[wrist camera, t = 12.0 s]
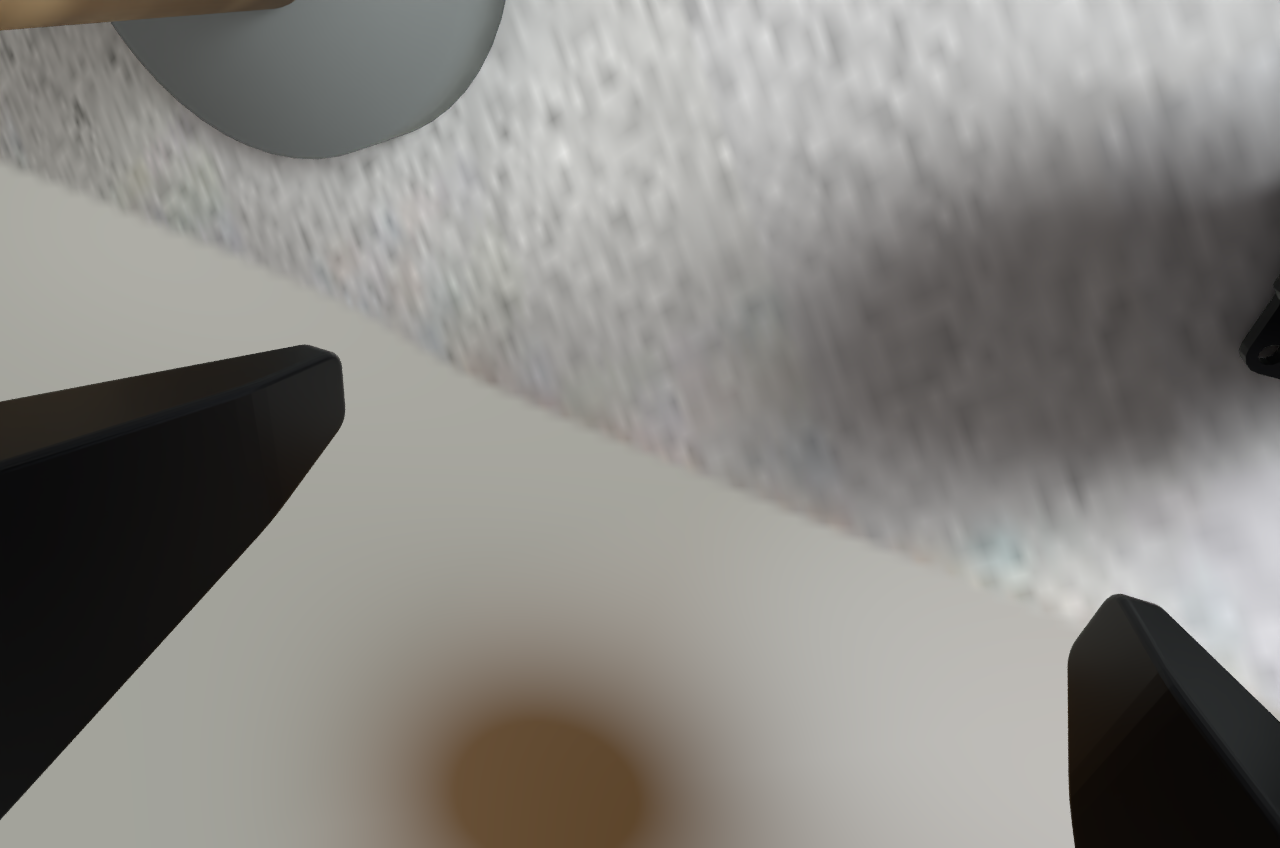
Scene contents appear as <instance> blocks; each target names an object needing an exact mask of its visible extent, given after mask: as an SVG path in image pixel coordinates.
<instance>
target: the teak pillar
mask: <svg viewBox="0 0 1280 848" xmlns="http://www.w3.org/2000/svg"><path fill="white" fill-rule="evenodd" d="M293 1H295V0H0V30H12V29H24V28H37V27H50V26H62V25H75V24H88V23H100V22H113V21H126V20H138V19H151V18H164V17H176V16H189V15H202V14H214V13H227V12H240V11H252V10H265V9H275V8H280V7H284V6H286V5H288V4H290V3H292V2H293Z"/></svg>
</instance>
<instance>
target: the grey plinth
mask: <svg viewBox="0 0 1280 848" xmlns="http://www.w3.org/2000/svg"><path fill="white" fill-rule="evenodd" d="M504 5H505V0H295V1H293V2H292V3H290V4H288V5H286V6H284V7H280V8H275V9H265V10H252V11H240V12H227V13H214V14H202V15H189V16H176V17H164V18H151V19H138V20H126V21H113V22H111V23H112V24H113V26H114V28H115V29H116V31H117V32H118V34H119V35H120V36H121V38H122V39H123V40H124V42H125V43H126V44H127V46H128V47H129V48H130V50H131V51H132V52H133V54H134V55H135V56H136V58H137V59H138V60H139V61H140V62H141V63H142V64H143V66H144V67H145V68H146V69H147V70H148V71H149V72H150V73H151V75H152V76H153V77H154V78H155V79H156V80H157V81H158V82H159V83H160V84H161V85H162V86H163V87H164V88H165V89H166V90H167V91H168V92H169V93H170V94H171V95H172V96H173V97H174V98H176V99H177V100H178V101H179V102H180V103H181V104H182V105H184V106H185V107H186V108H187V109H189V110H190V111H191V112H193V113H194V114H195V115H196V116H198V117H199V118H200V119H201V120H203V121H204V122H206V123H208V124H209V125H211V126H212V127H214V128H215V129H217V130H219V131H220V132H222V133H223V134H225V135H227V136H229V137H231V138H233V139H235V140H237V141H239V142H241V143H243V144H245V145H248V146H250V147H253V148H256V149H259V150H262V151H265V152H268V153H271V154H275V155H280V156H286V157H291V158H302V159H322V158H329V157H337V156H342V155H345V154H348V153H351V152H354V151H358V150H361V149H364V148H367V147H369V146H372V145H375V144H378V143H381V142H384V141H387V140H390V139H393V138H396V137H398V136H401V135H404V134H407V133H410V132H413V131H415V130H417V129H419V128H421V127H423V126H424V125H426V124H428V123H430V122H432V121H433V120H435V119H436V118H437V117H439V116H440V115H441V114H442V113H444V112H445V111H446V110H448V109H449V108H450V107H451V106H452V105H453V104H454V103H455V102H456V101H457V100H458V99H459V98H460V96H461V95H462V94H463V93H464V92H465V91H466V90H467V88H468V87H469V85H470V84H471V83H472V81H473V80H474V78H475V77H476V75H477V74H478V72H479V71H480V69H481V67H482V65H483V63H484V61H485V59H486V57H487V55H488V53H489V51H490V49H491V47H492V45H493V42H494V39H495V36H496V33H497V30H498V27H499V24H500V21H501V18H502V14H503V9H504Z"/></svg>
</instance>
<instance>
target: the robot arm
mask: <svg viewBox="0 0 1280 848" xmlns="http://www.w3.org/2000/svg"><path fill="white" fill-rule="evenodd" d="M1274 289H1275V292H1276V294H1275V296H1274V297H1273V298H1272V300H1271V301H1270V303H1269V304H1268V306H1267V307H1266V309H1265V310H1264V312H1263V313H1262V314H1261V316H1260V317H1259V319H1258V320H1257V322H1256V323H1255V325H1254V326H1253V327H1252V329H1251V330H1250V332H1249V333H1248V335H1247V336H1246V338H1245V339H1244V341H1243V342H1242V344H1241V347H1240V349H1239V353H1240V358H1241V359H1242V360H1243V361H1244V363H1245V364H1246V365H1247V366H1248V367H1249V368H1250V370H1252V371H1254V372H1256V373H1258V374H1262V375H1266V376H1270V377H1274V378H1278V379H1280V275H1279V277H1278V278H1277V279H1276V281H1275V283H1274ZM1271 345H1279V347H1278V349H1277V351H1276V352H1275V353H1274V354H1273V355H1271V356H1268V357H1266V358H1259V357H1258V356H1259V353H1260V352H1261V351H1262V350H1263V349H1264V348H1265V347H1268V346H1271ZM344 415H345V399H344V388H343V374H342V365H341V361H340V359H339V357H338V356H337V355H336V354H335V353H333V352H330V351H327V350H323V349H320V348H317V347H314V346H310V345H298V346H293V347H288V348H283V349H277V350H271V351H266V352H262V353H256V354H250V355H245V356H240V357H235V358H229V359H224V360H219V361H214V362H208V363H203V364H197V365H192V366H187V367H181V368H176V369H171V370H166V371H160V372H156V373H150V374H144V375H139V376H134V377H128V378H123V379H118V380H113V381H107V382H102V383H97V384H91V385H86V386H81V387H76V388H70V389H65V390H60V391H55V392H49V393H44V394H38V395H33V396H28V397H23V398H18V399H12V400H7V401H2V402H0V820H1V818H2V817H3V816H4V815H5V814H6V813H7V812H8V811H9V810H10V808H12V806H13V805H14V804H15V803H16V802H17V801H18V800H19V799H20V798H21V797H22V795H23V794H24V793H25V792H26V791H27V790H28V789H29V788H30V787H31V785H32V784H33V783H34V782H35V781H36V780H37V779H38V778H39V776H41V774H42V773H43V772H44V771H45V770H46V769H47V768H48V767H49V766H50V765H51V764H52V762H53V761H54V760H55V759H56V758H57V757H58V756H59V755H60V754H61V752H62V751H63V750H64V749H65V748H66V747H67V746H68V745H69V744H70V743H71V742H72V740H73V739H74V738H75V737H76V736H77V735H78V734H79V733H80V732H81V731H82V729H83V728H84V727H85V726H86V725H87V724H88V723H89V722H90V721H91V720H92V718H93V717H94V716H95V715H96V714H97V713H98V712H99V711H100V710H101V709H102V707H103V706H104V705H105V704H106V703H107V702H108V701H109V700H110V699H111V698H112V696H113V695H114V694H115V693H116V692H117V691H118V690H119V689H120V687H122V686H123V684H124V683H125V682H126V681H127V680H128V679H129V678H130V677H131V676H132V674H133V673H134V672H135V671H136V670H137V669H138V668H139V667H140V666H141V665H142V664H143V662H144V661H145V660H146V659H147V658H148V657H149V656H150V655H151V654H152V652H153V651H154V650H155V649H156V648H157V647H158V646H159V645H160V644H161V642H162V641H163V640H164V639H165V638H166V637H167V636H168V635H169V634H170V633H171V632H172V631H173V629H174V628H175V627H176V626H177V625H178V624H179V623H180V622H181V620H183V618H184V617H185V616H186V615H187V614H188V613H189V612H190V611H191V610H192V609H193V607H194V606H195V605H196V604H197V603H198V602H199V601H200V600H201V599H202V598H203V596H204V595H205V594H206V593H207V592H208V591H209V590H210V589H211V588H212V587H213V585H214V584H215V583H216V582H217V581H218V580H219V579H220V578H221V577H222V576H223V574H224V573H225V572H226V571H227V570H228V569H229V568H230V567H231V566H232V564H233V563H234V562H235V561H236V560H237V559H238V558H239V557H240V556H241V555H242V554H243V553H244V551H245V550H246V549H247V548H248V547H249V546H250V545H251V544H252V542H253V541H254V540H255V539H256V538H257V537H258V536H259V535H260V534H261V532H262V531H263V530H264V529H265V528H266V527H267V526H268V524H269V523H270V522H271V521H272V519H273V518H274V517H275V516H276V515H277V513H278V512H279V511H280V509H281V508H282V507H283V506H284V504H285V503H286V502H287V500H288V499H289V498H290V496H291V495H292V493H293V492H294V491H295V489H296V488H297V487H298V485H299V484H300V482H301V481H302V480H303V478H304V477H305V475H306V474H307V473H308V472H309V470H310V469H311V467H312V466H313V465H314V463H315V462H316V460H317V459H318V458H319V456H320V455H321V454H322V452H323V451H324V450H325V448H326V447H327V446H328V444H329V443H330V441H331V440H332V439H333V437H334V436H335V434H336V433H337V432H338V430H339V429H340V427H341V425H342V423H343V420H344ZM1068 763H1069V764H1068V767H1069V768H1068V773H1069V774H1068V775H1069V798H1070V799H1069V800H1070V809H1071V819H1072V827H1073V835H1074V843H1075V848H1280V722H1279V721H1278V720H1277V719H1276V718H1275V717H1274V716H1273V715H1272V714H1271V713H1270V712H1269V711H1268V710H1267V709H1266V708H1265V707H1264V706H1263V705H1262V704H1261V703H1260V702H1259V701H1258V700H1257V699H1255V698H1254V697H1253V696H1252V695H1251V694H1250V693H1249V692H1248V691H1247V690H1246V689H1245V688H1244V687H1243V686H1242V685H1241V684H1240V683H1239V682H1238V681H1237V680H1236V679H1235V678H1234V677H1233V676H1232V675H1231V674H1230V673H1229V672H1228V671H1227V670H1226V669H1224V668H1223V667H1222V666H1221V665H1220V664H1219V663H1218V662H1217V661H1216V660H1215V659H1214V658H1213V657H1212V656H1211V655H1210V654H1209V653H1208V652H1207V651H1206V650H1205V649H1204V648H1203V647H1202V646H1201V645H1200V644H1199V643H1198V642H1197V641H1196V640H1195V639H1194V638H1192V637H1191V636H1190V635H1189V634H1188V633H1187V632H1186V631H1185V630H1184V629H1183V628H1182V627H1181V626H1180V625H1179V624H1178V623H1177V622H1176V621H1175V620H1174V619H1173V618H1172V617H1171V616H1170V615H1169V614H1168V613H1167V612H1166V611H1165V610H1163V609H1162V608H1161V607H1160V606H1158V605H1156V604H1153V603H1150V602H1147V601H1143V600H1140V599H1137V598H1134V597H1130V596H1127V595H1124V594H1115V595H1112V596H1110V597H1109V598H1107V599H1106V600H1105V601H1104V603H1103V604H1102V605H1101V607H1100V608H1099V609H1098V611H1097V612H1096V613H1095V615H1094V616H1093V617H1092V619H1091V620H1090V622H1089V623H1088V624H1087V626H1086V627H1085V628H1084V630H1083V631H1082V632H1081V634H1080V635H1079V637H1078V638H1077V639H1076V641H1075V642H1074V644H1073V646H1072V648H1071V650H1070V654H1069V658H1068Z"/></svg>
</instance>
